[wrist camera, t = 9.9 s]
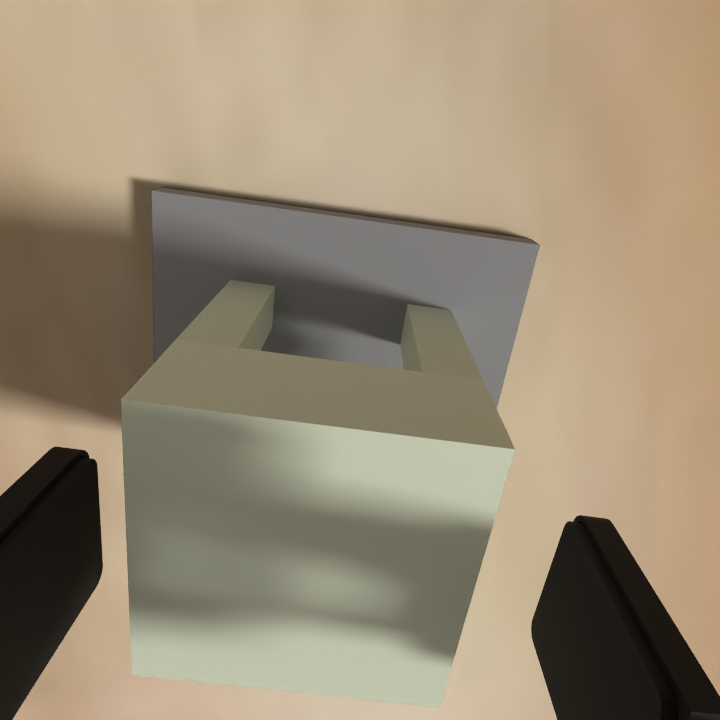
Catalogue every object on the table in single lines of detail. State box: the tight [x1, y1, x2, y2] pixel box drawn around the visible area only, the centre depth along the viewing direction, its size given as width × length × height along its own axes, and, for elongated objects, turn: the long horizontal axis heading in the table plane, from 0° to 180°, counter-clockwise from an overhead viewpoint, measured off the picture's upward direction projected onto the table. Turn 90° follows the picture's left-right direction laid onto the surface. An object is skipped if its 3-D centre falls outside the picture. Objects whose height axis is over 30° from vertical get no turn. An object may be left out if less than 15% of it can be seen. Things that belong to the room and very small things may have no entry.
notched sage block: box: [121, 280, 515, 708], centre depth 13 cm, size 6×6×7 cm
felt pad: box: [152, 188, 540, 409], centre depth 16 cm, size 10×10×1 cm
